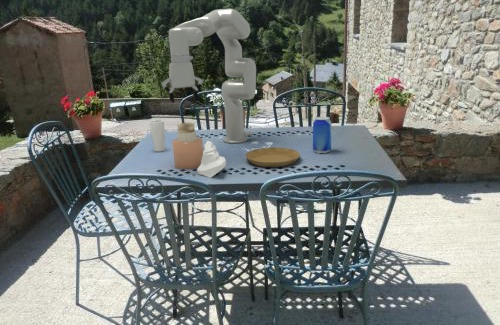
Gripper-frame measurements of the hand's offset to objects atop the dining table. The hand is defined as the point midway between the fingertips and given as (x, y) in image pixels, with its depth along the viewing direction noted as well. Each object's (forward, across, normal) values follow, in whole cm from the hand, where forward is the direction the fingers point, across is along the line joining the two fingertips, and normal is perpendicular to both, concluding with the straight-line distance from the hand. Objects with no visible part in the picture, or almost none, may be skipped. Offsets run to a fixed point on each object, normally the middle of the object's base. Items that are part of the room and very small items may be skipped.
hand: (184, 101), depth 180 cm
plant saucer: (+29, -35, +12) cm, 47 cm away
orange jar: (+28, 0, 0) cm, 28 cm away
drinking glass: (+28, +8, -30) cm, 42 cm away
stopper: (+16, 0, 0) cm, 17 cm away
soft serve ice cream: (+28, -6, +16) cm, 33 cm away
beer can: (+28, -61, +10) cm, 68 cm away
